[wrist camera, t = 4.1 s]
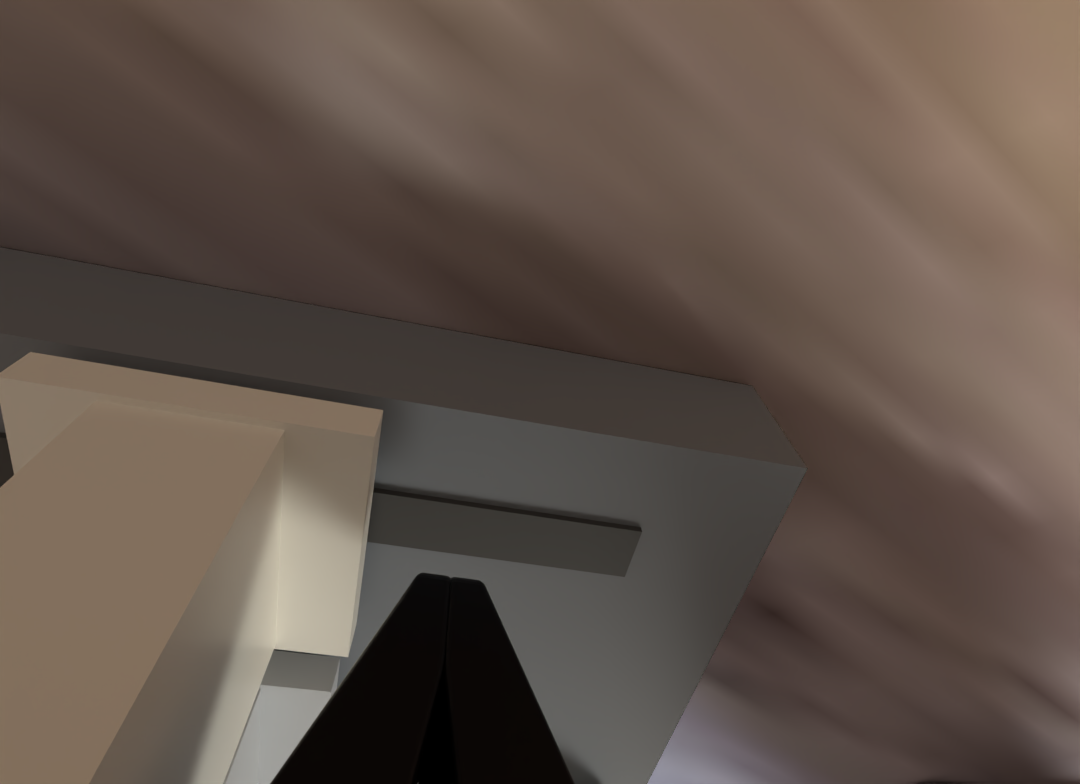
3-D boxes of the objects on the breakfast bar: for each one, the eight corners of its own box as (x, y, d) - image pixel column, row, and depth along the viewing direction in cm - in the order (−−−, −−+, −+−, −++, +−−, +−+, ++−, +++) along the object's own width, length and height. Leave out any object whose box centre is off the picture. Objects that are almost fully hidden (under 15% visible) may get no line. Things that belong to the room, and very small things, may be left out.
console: (752, 385, 11) (1041, 814, 5) (566, 819, 18) (596, 1243, 11) (-511, 152, 9) (-2902, 452, 3) (-196, 758, 15) (-680, 1260, 9)
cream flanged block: (382, 409, 8) (248, 824, 4) (356, 623, 10) (243, 1067, 6) (31, 351, 8) (-574, 763, 3) (70, 589, 9) (-291, 1053, 5)
